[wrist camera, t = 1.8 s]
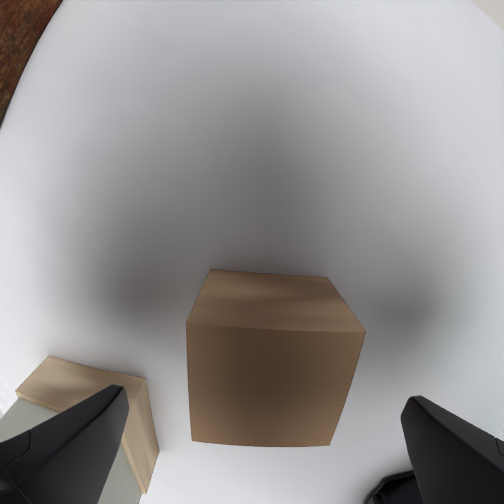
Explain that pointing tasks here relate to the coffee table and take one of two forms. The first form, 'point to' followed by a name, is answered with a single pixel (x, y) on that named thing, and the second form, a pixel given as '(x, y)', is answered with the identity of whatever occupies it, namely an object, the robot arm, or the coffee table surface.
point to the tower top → (121, 474)
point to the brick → (19, 39)
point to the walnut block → (269, 359)
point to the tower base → (85, 385)
